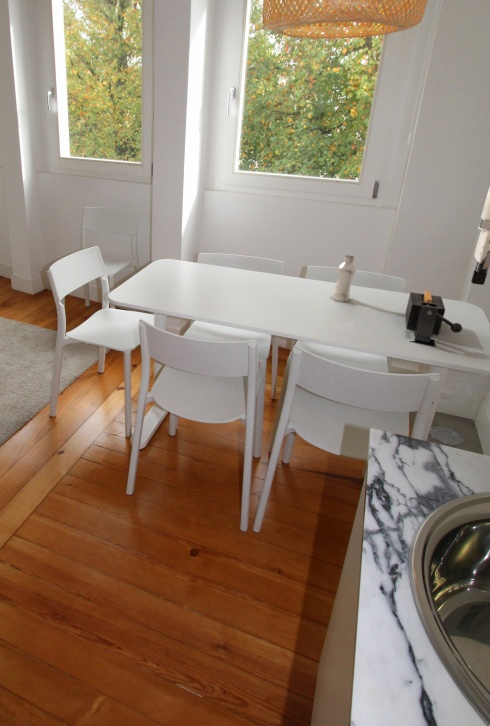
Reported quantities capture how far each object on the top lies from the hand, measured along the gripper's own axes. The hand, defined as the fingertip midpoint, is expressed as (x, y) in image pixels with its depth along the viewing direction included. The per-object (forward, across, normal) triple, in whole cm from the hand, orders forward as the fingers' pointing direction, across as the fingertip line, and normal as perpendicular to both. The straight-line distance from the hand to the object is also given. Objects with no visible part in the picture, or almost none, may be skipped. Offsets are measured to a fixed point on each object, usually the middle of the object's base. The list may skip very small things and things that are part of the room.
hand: (477, 283), depth 146 cm
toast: (+20, +13, +10) cm, 26 cm away
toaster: (+23, +13, +10) cm, 29 cm away
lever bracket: (+23, 0, +11) cm, 26 cm away
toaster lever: (+15, 0, +7) cm, 17 cm away
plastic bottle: (+23, +27, +39) cm, 53 cm away
